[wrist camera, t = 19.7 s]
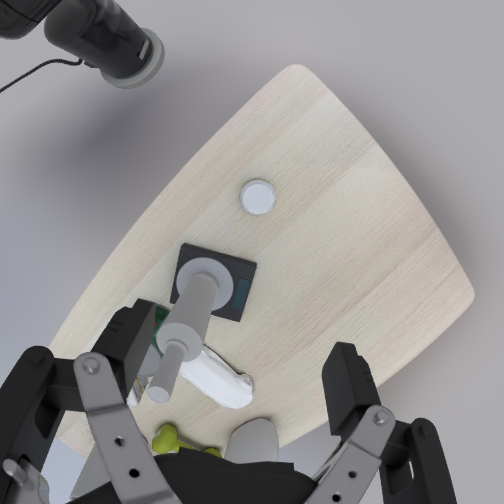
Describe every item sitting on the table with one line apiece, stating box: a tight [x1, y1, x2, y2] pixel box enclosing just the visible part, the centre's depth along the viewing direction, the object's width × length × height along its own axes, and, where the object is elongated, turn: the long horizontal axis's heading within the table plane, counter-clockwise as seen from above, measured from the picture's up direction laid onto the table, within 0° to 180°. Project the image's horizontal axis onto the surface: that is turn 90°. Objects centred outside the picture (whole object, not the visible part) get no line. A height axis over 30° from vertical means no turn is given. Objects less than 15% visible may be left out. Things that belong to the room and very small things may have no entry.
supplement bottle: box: [240, 179, 276, 215], centre depth 41 cm, size 5×5×8 cm
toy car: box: [178, 345, 253, 409], centre depth 52 cm, size 18×8×4 cm, turn 47°
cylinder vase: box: [70, 437, 147, 501], centre depth 49 cm, size 12×12×25 cm
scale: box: [170, 243, 257, 322], centre depth 48 cm, size 12×10×3 cm
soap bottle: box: [224, 418, 279, 464], centre depth 46 cm, size 14×8×27 cm, turn 134°
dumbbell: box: [152, 424, 222, 458], centre depth 57 cm, size 16×8×7 cm, turn 49°
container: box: [122, 377, 148, 406], centre depth 48 cm, size 8×8×13 cm
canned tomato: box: [137, 304, 170, 378], centre depth 46 cm, size 8×8×11 cm
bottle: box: [147, 272, 219, 403], centre depth 35 cm, size 5×5×25 cm
